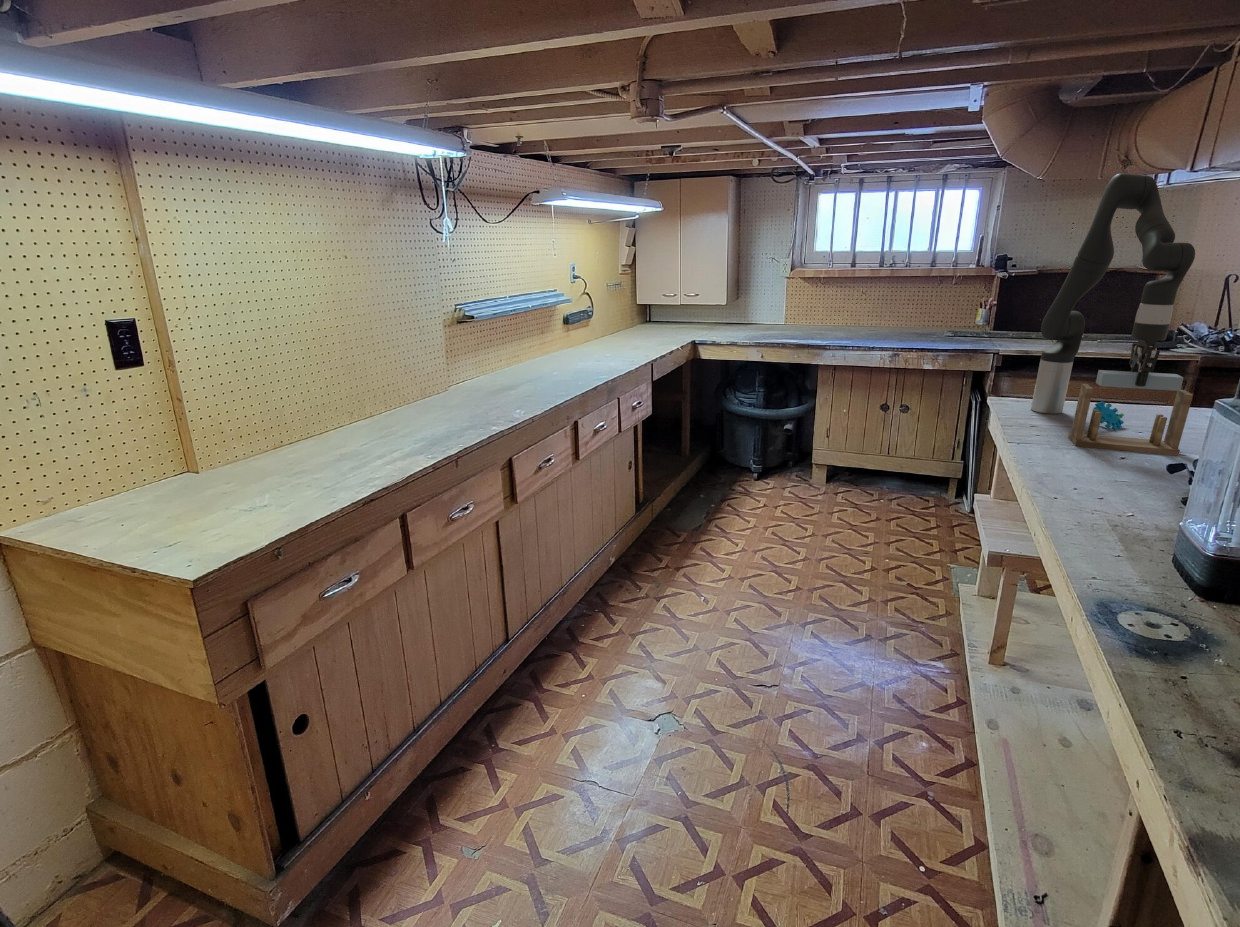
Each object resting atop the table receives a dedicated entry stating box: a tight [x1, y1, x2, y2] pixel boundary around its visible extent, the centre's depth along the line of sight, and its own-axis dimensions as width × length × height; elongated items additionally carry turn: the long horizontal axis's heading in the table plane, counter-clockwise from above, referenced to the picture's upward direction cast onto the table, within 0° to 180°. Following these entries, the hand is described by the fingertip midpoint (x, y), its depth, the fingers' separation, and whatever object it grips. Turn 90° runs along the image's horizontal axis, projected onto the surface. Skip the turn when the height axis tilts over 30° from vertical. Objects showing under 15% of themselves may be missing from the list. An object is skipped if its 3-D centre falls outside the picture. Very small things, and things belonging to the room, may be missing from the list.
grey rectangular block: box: [1095, 369, 1184, 392], centre depth 183 cm, size 18×5×4 cm, turn 68°
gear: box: [1092, 400, 1125, 431], centre depth 208 cm, size 11×6×10 cm
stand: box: [1068, 383, 1194, 456], centre depth 186 cm, size 9×24×16 cm, turn 68°
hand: (1136, 383), depth 183 cm, fingers closed on grey rectangular block, 5 cm apart
